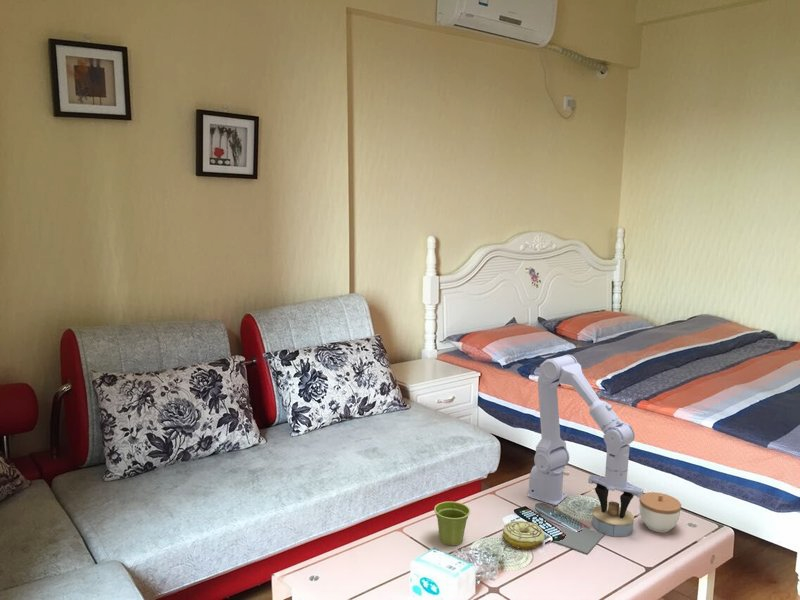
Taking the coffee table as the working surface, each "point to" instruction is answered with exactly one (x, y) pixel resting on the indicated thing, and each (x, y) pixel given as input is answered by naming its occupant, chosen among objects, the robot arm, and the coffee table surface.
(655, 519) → the lidded jar
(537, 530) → the decorated donut
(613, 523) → the lid
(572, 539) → the mat
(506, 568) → the coffee table surface
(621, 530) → the bowl
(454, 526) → the plant pot
